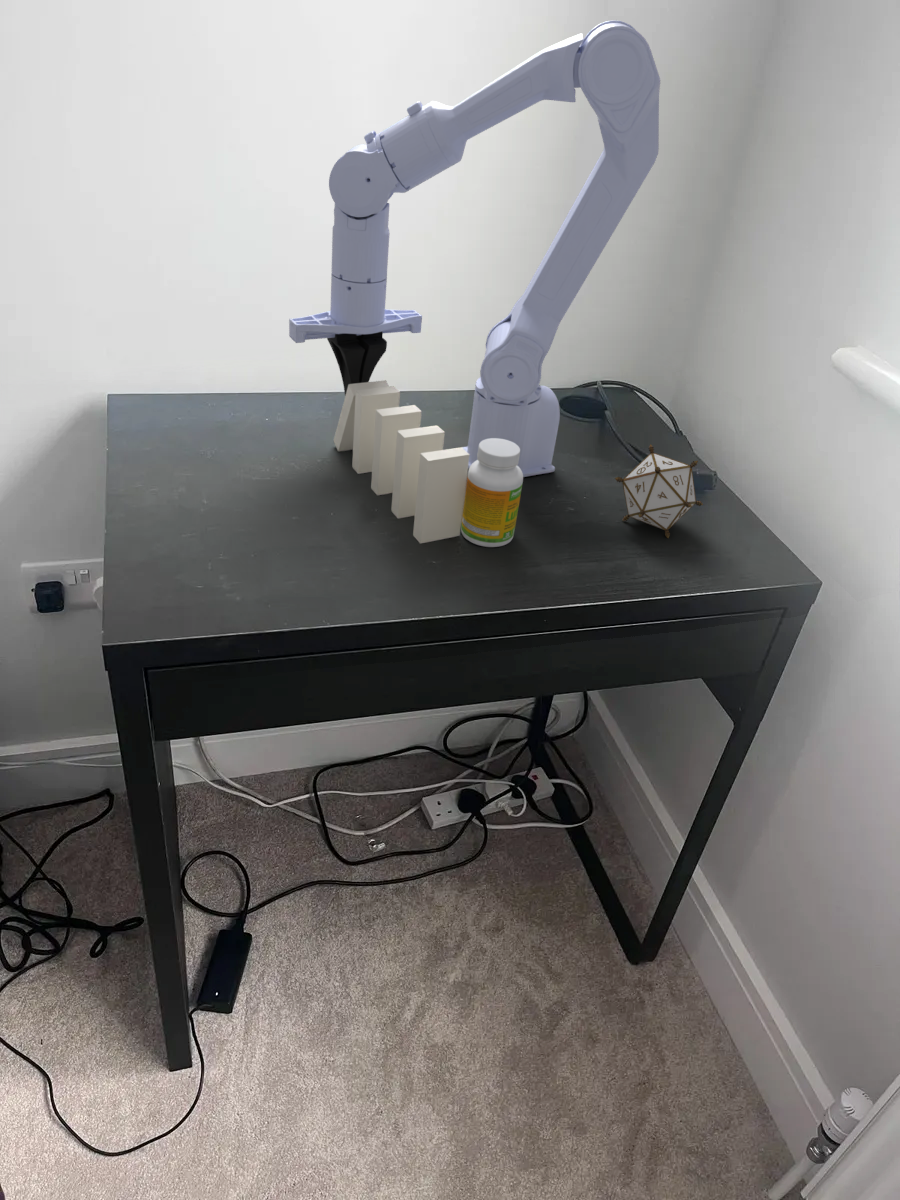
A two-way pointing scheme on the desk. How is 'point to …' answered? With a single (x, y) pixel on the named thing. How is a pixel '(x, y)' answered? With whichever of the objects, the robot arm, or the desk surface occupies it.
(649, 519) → the game die
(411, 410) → the domino
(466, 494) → the supplement bottle
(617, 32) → the robot arm
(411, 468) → the domino
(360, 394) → the domino
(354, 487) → the desk surface
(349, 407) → the domino
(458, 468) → the domino
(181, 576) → the desk surface
